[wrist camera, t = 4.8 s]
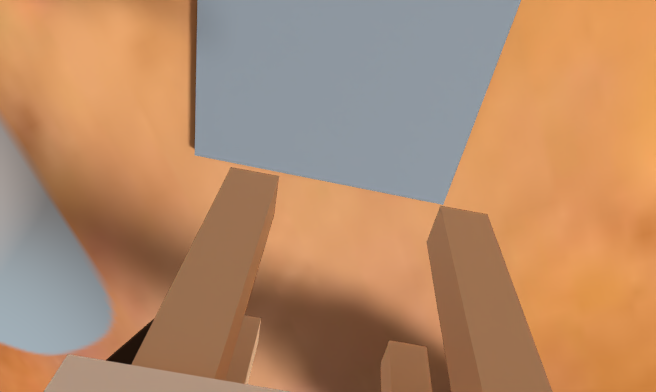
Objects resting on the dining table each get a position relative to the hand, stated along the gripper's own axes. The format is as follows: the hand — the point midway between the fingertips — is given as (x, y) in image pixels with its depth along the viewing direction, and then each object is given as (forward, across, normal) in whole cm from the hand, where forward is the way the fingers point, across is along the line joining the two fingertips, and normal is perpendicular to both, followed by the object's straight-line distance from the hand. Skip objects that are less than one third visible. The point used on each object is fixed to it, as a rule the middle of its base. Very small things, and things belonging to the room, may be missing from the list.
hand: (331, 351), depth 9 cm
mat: (+13, +1, -2) cm, 13 cm away
